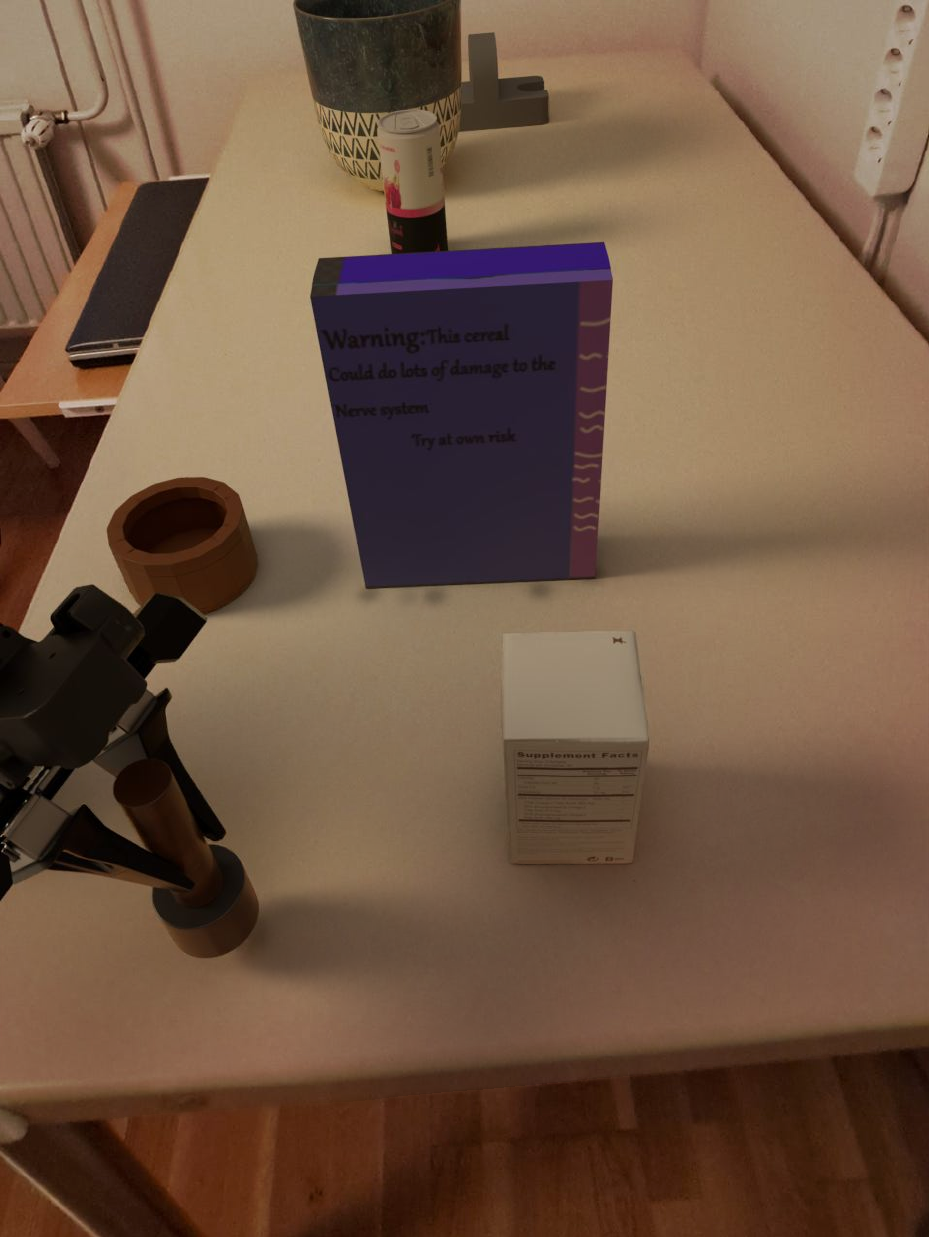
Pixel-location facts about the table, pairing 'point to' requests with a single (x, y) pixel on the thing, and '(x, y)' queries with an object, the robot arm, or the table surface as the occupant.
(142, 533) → the bowl
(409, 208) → the beverage can
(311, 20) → the planter
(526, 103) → the bracket
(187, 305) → the table surface
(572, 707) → the white packaging box
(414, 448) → the cereal box
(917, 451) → the table surface
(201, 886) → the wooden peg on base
